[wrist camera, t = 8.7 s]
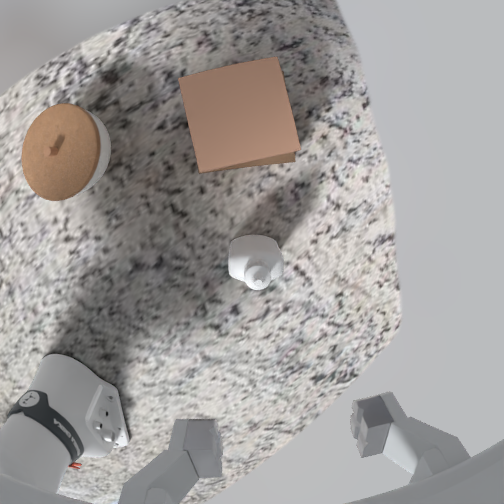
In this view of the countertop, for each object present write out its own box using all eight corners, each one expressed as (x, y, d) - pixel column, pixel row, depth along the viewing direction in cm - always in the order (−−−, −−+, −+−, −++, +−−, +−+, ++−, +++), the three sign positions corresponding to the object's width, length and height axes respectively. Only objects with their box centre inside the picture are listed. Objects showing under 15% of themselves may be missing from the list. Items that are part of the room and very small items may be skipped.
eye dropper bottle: (264, 273, 39) (274, 317, 28) (224, 252, 38) (217, 290, 27) (282, 243, 38) (299, 276, 27) (241, 221, 37) (241, 246, 26)
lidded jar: (134, 120, 34) (103, 107, 24) (111, 202, 36) (76, 214, 27) (67, 106, 32) (26, 96, 23) (47, 183, 35) (5, 190, 26)
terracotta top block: (292, 152, 31) (301, 149, 26) (206, 171, 31) (199, 172, 26) (272, 72, 28) (277, 56, 24) (187, 91, 29) (178, 78, 24)
